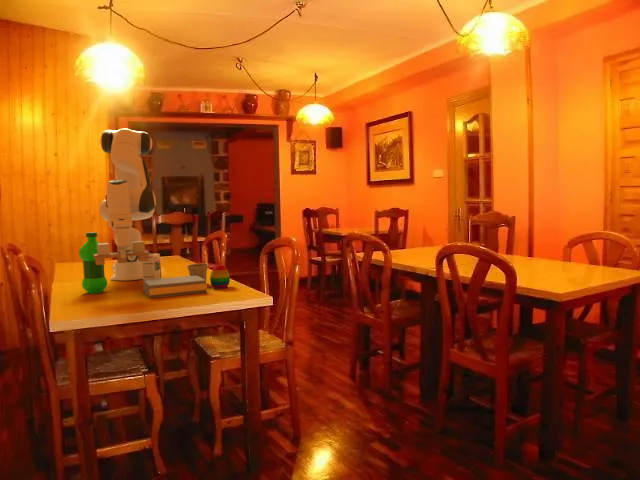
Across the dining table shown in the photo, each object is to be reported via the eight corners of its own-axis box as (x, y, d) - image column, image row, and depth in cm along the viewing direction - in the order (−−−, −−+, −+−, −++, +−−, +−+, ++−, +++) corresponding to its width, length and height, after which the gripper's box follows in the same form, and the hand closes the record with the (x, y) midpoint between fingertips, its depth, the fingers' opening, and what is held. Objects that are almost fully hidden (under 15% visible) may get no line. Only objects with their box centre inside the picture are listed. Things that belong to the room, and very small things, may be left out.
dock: (144, 292, 223) (143, 280, 222) (197, 286, 232) (196, 275, 232) (150, 298, 208) (149, 285, 207) (206, 292, 217) (206, 280, 217)
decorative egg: (227, 289, 224) (226, 265, 223) (208, 289, 225) (207, 265, 224) (232, 285, 232) (231, 262, 231) (213, 286, 233) (212, 263, 232)
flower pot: (183, 285, 236) (182, 266, 235) (195, 282, 244) (194, 263, 244) (201, 286, 232) (201, 266, 232) (213, 283, 241) (212, 263, 240)
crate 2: (133, 251, 214) (132, 241, 214) (143, 251, 216) (143, 241, 215) (134, 252, 210) (133, 242, 210) (144, 251, 212) (144, 241, 212)
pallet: (94, 263, 209) (93, 254, 209) (147, 259, 218) (147, 250, 217) (94, 265, 204) (94, 255, 203) (149, 261, 212) (149, 251, 212)
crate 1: (97, 254, 209) (97, 243, 208) (108, 253, 210) (108, 243, 210) (98, 255, 205) (97, 244, 205) (109, 254, 207) (108, 243, 206)
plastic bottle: (93, 289, 231) (90, 231, 229) (113, 290, 228) (110, 231, 225) (76, 294, 222) (72, 233, 220) (96, 295, 218) (92, 233, 216)
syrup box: (155, 288, 230) (153, 254, 229) (143, 288, 232) (141, 254, 230) (162, 286, 236) (160, 253, 235) (149, 286, 237) (148, 253, 236)
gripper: (109, 221, 217) (111, 255, 219) (113, 223, 199) (115, 260, 200) (126, 220, 220) (128, 254, 221) (131, 222, 202) (133, 259, 203)
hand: (122, 257), depth 211 cm, fingers closed on pallet, 6 cm apart
